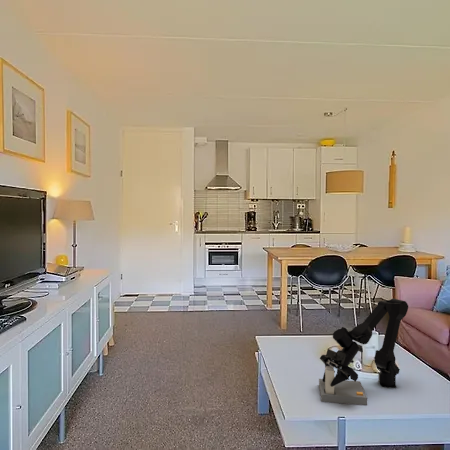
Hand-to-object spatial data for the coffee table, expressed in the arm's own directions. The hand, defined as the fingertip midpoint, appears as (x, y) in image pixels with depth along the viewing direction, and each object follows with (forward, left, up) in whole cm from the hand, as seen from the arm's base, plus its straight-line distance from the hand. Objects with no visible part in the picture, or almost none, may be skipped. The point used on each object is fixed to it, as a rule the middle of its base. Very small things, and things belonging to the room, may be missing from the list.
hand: (327, 383), depth 167 cm
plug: (-1, -1, -7) cm, 7 cm away
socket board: (-7, -5, -7) cm, 11 cm away
